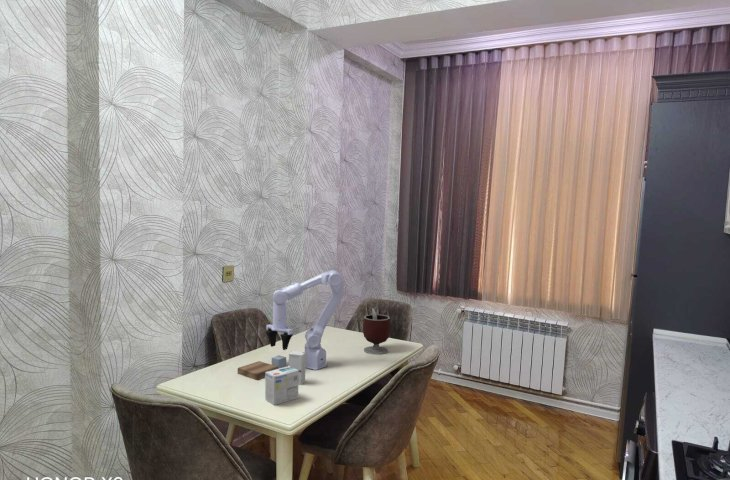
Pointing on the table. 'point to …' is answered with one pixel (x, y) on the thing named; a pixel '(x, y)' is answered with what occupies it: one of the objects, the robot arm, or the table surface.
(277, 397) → the light bulb box
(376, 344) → the mate gourd
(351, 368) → the table surface
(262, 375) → the walnut base
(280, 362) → the slate cube
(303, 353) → the skincare box
